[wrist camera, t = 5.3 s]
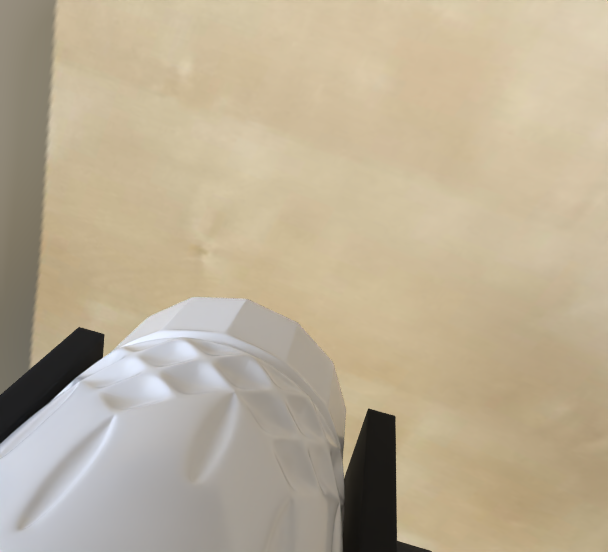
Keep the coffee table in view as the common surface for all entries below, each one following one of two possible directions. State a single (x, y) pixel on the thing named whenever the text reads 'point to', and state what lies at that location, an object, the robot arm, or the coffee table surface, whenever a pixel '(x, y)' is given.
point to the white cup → (185, 443)
